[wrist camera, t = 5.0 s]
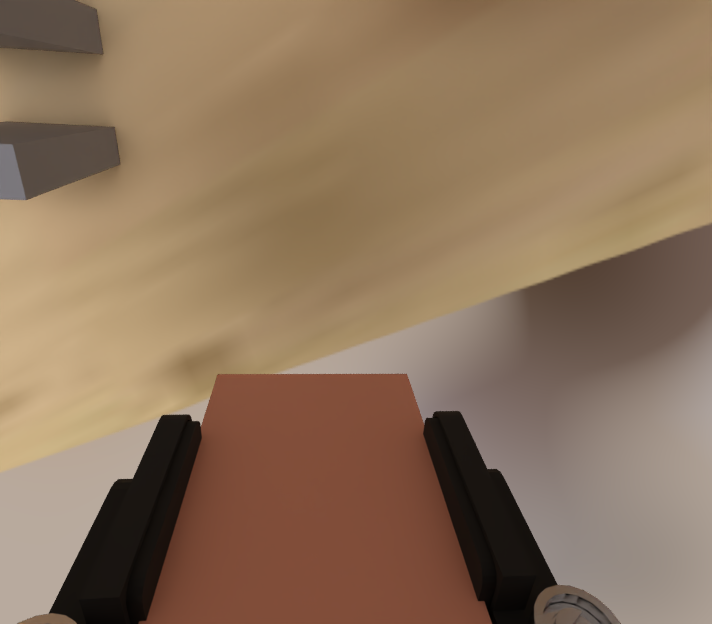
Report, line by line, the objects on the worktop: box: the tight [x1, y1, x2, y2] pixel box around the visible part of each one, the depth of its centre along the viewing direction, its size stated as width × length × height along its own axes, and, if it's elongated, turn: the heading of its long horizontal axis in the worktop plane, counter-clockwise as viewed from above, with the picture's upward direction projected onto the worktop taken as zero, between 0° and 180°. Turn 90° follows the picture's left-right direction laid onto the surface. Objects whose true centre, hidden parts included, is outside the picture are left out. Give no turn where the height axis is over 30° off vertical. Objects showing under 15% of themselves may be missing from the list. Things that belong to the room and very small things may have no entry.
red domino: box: [138, 374, 492, 624], centre depth 9 cm, size 2×5×9 cm, turn 87°
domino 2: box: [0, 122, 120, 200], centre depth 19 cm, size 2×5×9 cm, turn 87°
